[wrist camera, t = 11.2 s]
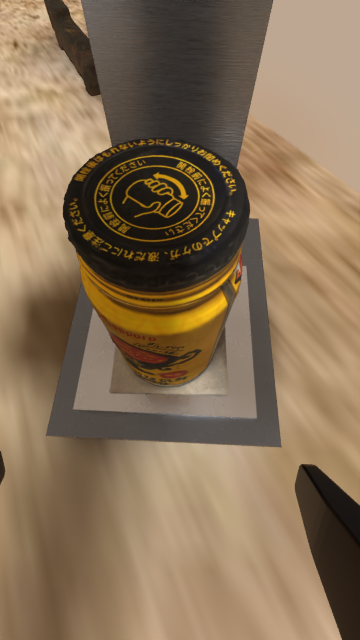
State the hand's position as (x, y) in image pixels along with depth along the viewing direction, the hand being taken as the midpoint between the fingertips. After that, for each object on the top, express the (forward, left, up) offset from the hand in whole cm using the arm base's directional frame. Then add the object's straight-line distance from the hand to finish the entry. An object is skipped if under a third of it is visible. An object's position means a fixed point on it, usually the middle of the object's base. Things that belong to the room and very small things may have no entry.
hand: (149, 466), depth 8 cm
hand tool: (+37, -35, -11) cm, 52 cm away
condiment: (+4, -7, -8) cm, 11 cm away
